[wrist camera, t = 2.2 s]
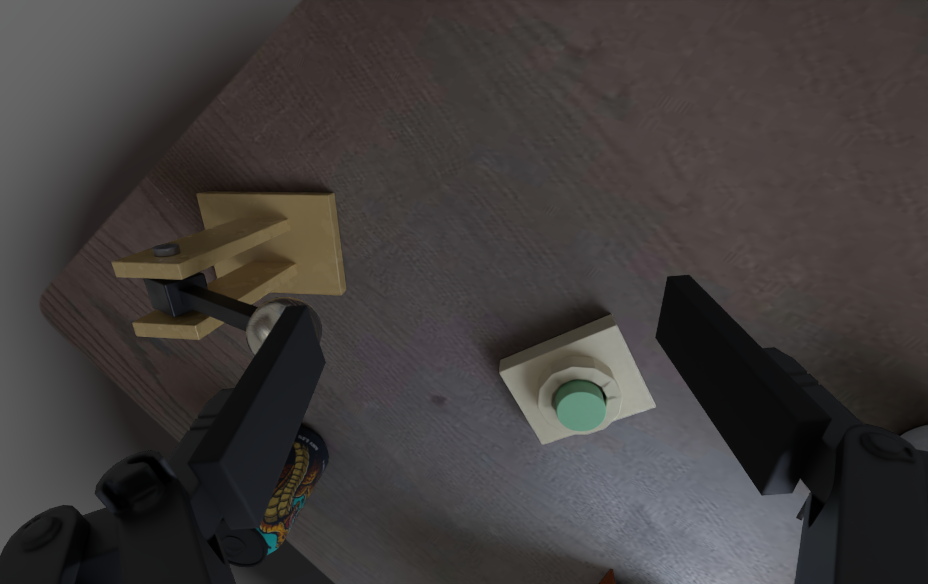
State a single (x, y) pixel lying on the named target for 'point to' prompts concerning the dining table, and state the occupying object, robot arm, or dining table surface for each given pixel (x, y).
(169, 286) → the switch lever
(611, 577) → the book
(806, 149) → the dining table surface
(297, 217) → the switch bracket
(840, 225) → the dining table surface
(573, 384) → the light button
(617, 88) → the dining table surface
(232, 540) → the beverage can
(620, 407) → the switch box
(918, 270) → the dining table surface
